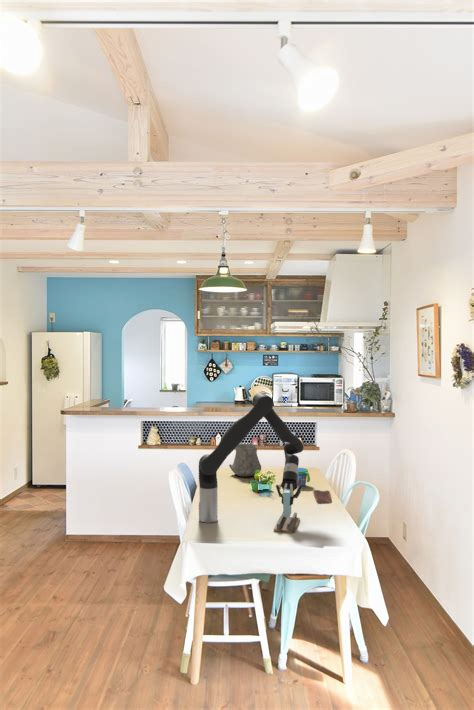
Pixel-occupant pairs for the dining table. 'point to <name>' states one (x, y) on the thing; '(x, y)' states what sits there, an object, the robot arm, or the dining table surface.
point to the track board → (287, 524)
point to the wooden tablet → (322, 497)
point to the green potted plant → (255, 481)
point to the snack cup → (302, 476)
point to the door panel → (286, 503)
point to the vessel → (246, 461)
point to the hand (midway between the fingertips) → (287, 504)
